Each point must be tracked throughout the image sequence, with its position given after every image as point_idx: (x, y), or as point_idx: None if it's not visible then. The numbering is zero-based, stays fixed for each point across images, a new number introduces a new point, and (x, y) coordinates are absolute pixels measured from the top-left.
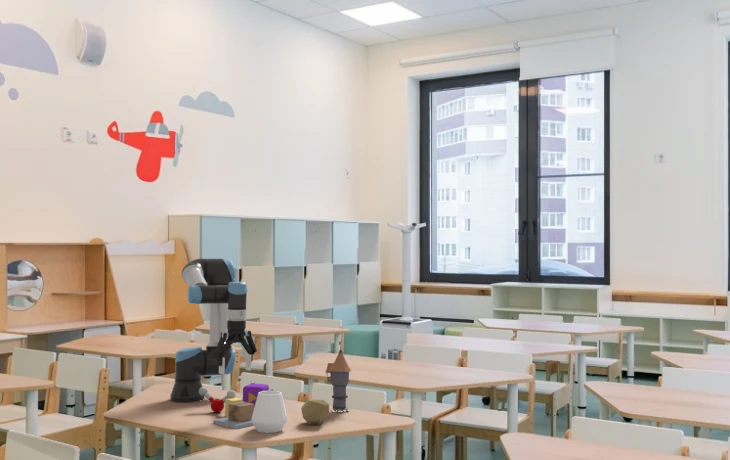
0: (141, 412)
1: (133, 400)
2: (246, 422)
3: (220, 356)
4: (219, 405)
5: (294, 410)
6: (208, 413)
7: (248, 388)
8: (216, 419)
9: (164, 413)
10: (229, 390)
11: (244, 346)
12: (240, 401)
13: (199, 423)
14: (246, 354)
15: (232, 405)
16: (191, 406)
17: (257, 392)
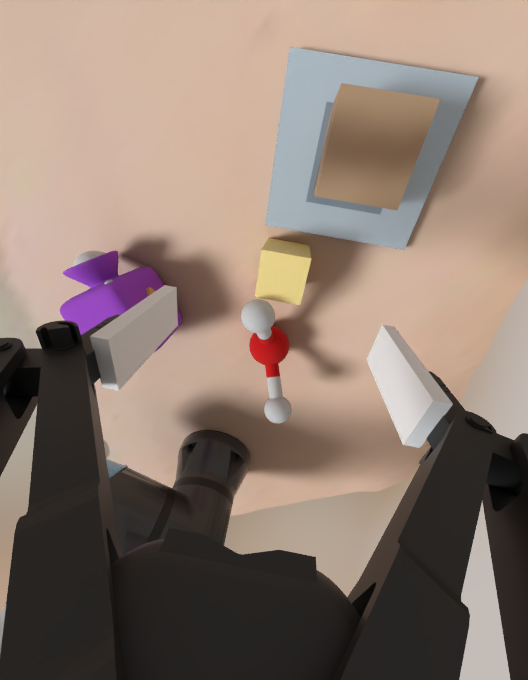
0: (366, 450)
1: (285, 503)
2: (396, 88)
3: (488, 429)
4: (278, 332)
5: (72, 146)
6: (294, 344)
7: None
8: (394, 244)
9: (351, 416)
10: (260, 328)
11: (101, 449)
12: (273, 249)
13: (423, 279)
14: (119, 383)
15: (408, 177)
16: (258, 415)
17: (135, 294)
